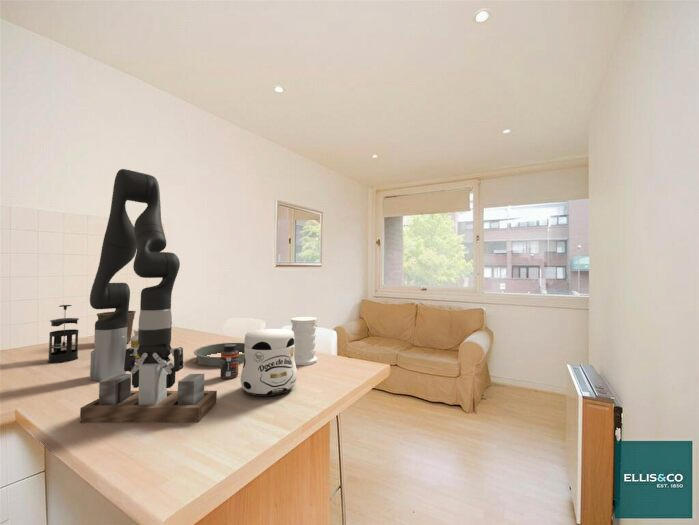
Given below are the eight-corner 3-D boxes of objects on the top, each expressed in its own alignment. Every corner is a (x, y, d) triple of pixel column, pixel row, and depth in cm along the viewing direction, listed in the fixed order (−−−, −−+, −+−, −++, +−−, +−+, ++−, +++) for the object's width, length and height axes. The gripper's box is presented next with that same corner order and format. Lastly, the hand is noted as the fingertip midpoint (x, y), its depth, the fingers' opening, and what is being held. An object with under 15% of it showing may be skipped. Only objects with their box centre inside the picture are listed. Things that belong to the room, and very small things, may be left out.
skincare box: (151, 402, 85) (152, 359, 85) (167, 402, 85) (168, 359, 86) (137, 413, 79) (138, 365, 79) (154, 412, 79) (155, 365, 80)
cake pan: (186, 370, 118) (186, 358, 118) (201, 353, 142) (201, 343, 142) (253, 366, 124) (253, 354, 124) (256, 350, 148) (256, 341, 148)
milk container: (277, 404, 87) (278, 340, 88) (228, 395, 93) (229, 336, 94) (306, 384, 104) (306, 330, 104) (263, 377, 110) (263, 326, 110)
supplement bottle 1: (129, 359, 130) (130, 329, 131) (147, 356, 135) (148, 327, 135) (131, 363, 125) (132, 331, 126) (150, 360, 130) (151, 329, 130)
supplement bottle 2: (232, 380, 107) (232, 347, 107) (216, 379, 108) (217, 346, 108) (241, 374, 112) (242, 343, 113) (226, 373, 114) (227, 342, 114)
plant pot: (86, 346, 152) (87, 314, 152) (116, 339, 168) (117, 310, 168) (115, 348, 149) (116, 315, 149) (142, 341, 165) (143, 311, 165)
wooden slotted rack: (79, 422, 76) (81, 384, 76) (112, 403, 87) (114, 370, 87) (198, 422, 77) (199, 384, 77) (216, 403, 88) (217, 370, 88)
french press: (83, 358, 131) (85, 304, 132) (55, 364, 123) (57, 306, 123) (69, 355, 136) (71, 303, 137) (41, 360, 128) (43, 305, 128)
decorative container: (313, 356, 137) (313, 316, 138) (320, 364, 126) (320, 320, 127) (287, 359, 133) (287, 317, 134) (292, 366, 122) (292, 321, 123)
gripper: (118, 328, 79) (116, 392, 78) (174, 328, 79) (172, 392, 79) (137, 323, 86) (135, 381, 86) (189, 323, 87) (187, 382, 86)
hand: (153, 387), depth 82 cm, fingers open, 8 cm apart
